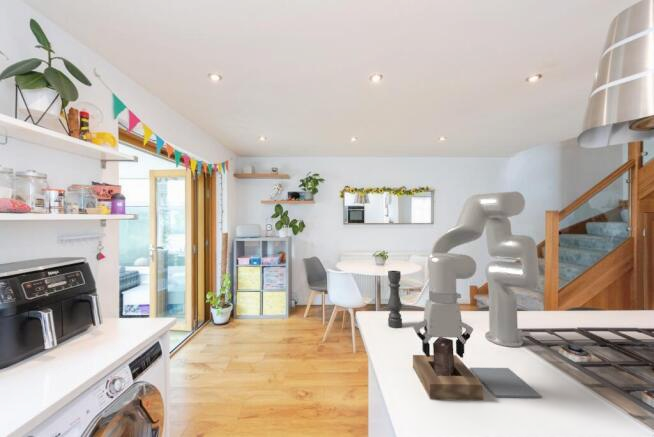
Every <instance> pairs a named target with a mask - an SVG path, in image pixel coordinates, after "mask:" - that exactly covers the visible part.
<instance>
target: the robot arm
mask: <svg viewBox="0 0 654 437" xmlns="http://www.w3.org/2000/svg"><path fill="white" fill-rule="evenodd" d="M525 207H526V200H525V197H524V195H523V194H522V193H521V192H519V191H505V192H492V193H483V194H480V193H479V194H474V195H471V196H468V197H467V199H466V201H465V202H464V204H463V207H462V210H461V212H460V214H459V216H458V219H457V222H456V223H455V226H453V227H452V228H450V229H449V230H447V231H446V232H444V233H443V234H442V235H441V236H439V237H438V238H437V239H436V241H435V242H434V243H433V245H432V248H431V250H430V253H429V254H428V258H427V268H428V299H426V300H425V305H424V311H423V312H424V313H423V320H421V321H420V322H418V323H416V324H414V325H412V328H413V330H414V332H415V333H416V336H417V337H418V338H419V340H421V341H422V342H421V343H422V347H421V348H422V352H423V353H424V355H426V356H427V357H430V355H431V354H430V352H431V350H430V349H431V348H430V347H431V346H430V344H431V343H430V342H429V341H431V339H432V338H439V337H443V338H456V340H455V353H456V355H458V356H459V357H460V358H461V359H463V358H464V354H465V344H467V341H468V340H469V339H470V338H471V335H472V333H473V331H474V328H473V327H472V326H471V325H469V324H467V323H465V322H463V320H462V313H461V309H460V308H461V307H460V303H459V302H458V300H459V299H461V298H462V295H461V293H458V292H457V279H459V280H467V279H468V280H469V279H470V278H472V277H473V276H475V274H476V272H477V263H476V261H475V260H474V258H473V257H472V256H469V255H467V254H462V253H461V254H459V253H451V252H450V251H451V250H453V249H454V248H456V247H459V246H461V245H464V244H469V243H471V242H474V241H476V240H478V239H480V238H481V237H482V236H483V232H484V230H485V233H486V234H485V235H486V244H487V245H486V246H487V252H488V254H489V255H490V257H492V258H494V259H495V258H496V259H502V260H492V261H490V262H488V263H487V264H486V266H485V270H484V272H485V273H484V274H485V277H486V282H487V290H488V291H487V292H488V323H489V331H487V332H485V334H484V337H485V339H486V340H487V341H489V342H491V343H494V344H496V345H499V346H502V347H503V346H504V347H508V348H509V347H510V348H511V347H512V348H513V347H515V348H517V347H522V344H524V341H523V339H522V338H526V337H525V336H530V337H529V338H531V336H532V335H531V332H530V331H524V330H522V329H518V327H519V326H518V325H519V324H518V298H517V295H516V293H515V291H514V290H513V289H512V287H513V288H518V289H519V288H520V289H527V290H534V289H536V288H537V287H538V286H539V283H540V269H539V258H538V257H539V256H538V247H537V244H536V240H534V238H533V237H531V236H529V235H523V234H522V235H521V234H513V233H512V226H511V221H510V219H509V218H511V217H514V216H518V215H521V214H522V212H523V211H524V209H525ZM449 252H450V253H449ZM503 259H504V260H514V261H515V262H514V261H513V262H512V261H504V260H503ZM516 261H519V262H516ZM422 328H423V330H424V332H423V333H422V332H421V329H422ZM463 329H465V331H463Z"/></svg>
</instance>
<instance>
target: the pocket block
mask: <svg viewBox="0 0 654 437" xmlns="http://www.w3.org/2000/svg"><path fill="white" fill-rule="evenodd" d="M412 368H413V370H414V373H415V374H416V375H417V378H418V379H419V382H420V383H421V385H422V387H423V388H424V390H425V393H426V394H427V396H428V397H429V398H428V399H429V400H462V401H463V400H465V401H466V400H467V401H468V400H470V401H471V400H473V401H476V400H477V401H478V400H479V401H482V400H483V401H484V388H483V387H484V386H483V385H484V384H483V383H482V382H481V381H480V380H479V378H478V377H477V376H476V375H475V374H474V373H473V372H472V371H471V370H470V368H468V367H467V366H466V364H465V363H464V362H463V361H462V360H461V359H460V358H459V357H458V356H457V354H454V372H455V376H437V375H436V373H435V372H434V354H430V357H427V356H426V355H425V354H412Z"/></svg>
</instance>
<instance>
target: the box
mask: <svg viewBox="0 0 654 437" xmlns="http://www.w3.org/2000/svg"><path fill="white" fill-rule="evenodd" d="M432 348H433V349H432V350H433V355H434V372H435V373H436V375H437V376H455V372H454V355H455V354H454V340H453V339H451V338H448V337H437V339H436V340H434V342H433V343H432Z"/></svg>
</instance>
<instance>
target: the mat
mask: <svg viewBox="0 0 654 437" xmlns="http://www.w3.org/2000/svg"><path fill="white" fill-rule="evenodd" d="M469 370H470V371H471V372H472V373H473V375H474V376H475V377H476V378H477V379H478V380H479V381H480V382H481V383H482V384H483V385H484V386H485V387H486V389H488V391H489V392H491V394H492V395H493V396H494V398H496V399H497V398H502V399H503V398H505V399H511V398H512V399H542V397H543V396H542V395H541V394H540V393H539V392H538V391H537V390H535V389H534V388H533V387H532V386H530V385H529V384H528V383H527V382H526V381H524V379H522V378H521V377H520V376H519V375H517V374H516V373H515V372H514V371H513V370H511V368H509V367H470V368H469Z"/></svg>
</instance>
